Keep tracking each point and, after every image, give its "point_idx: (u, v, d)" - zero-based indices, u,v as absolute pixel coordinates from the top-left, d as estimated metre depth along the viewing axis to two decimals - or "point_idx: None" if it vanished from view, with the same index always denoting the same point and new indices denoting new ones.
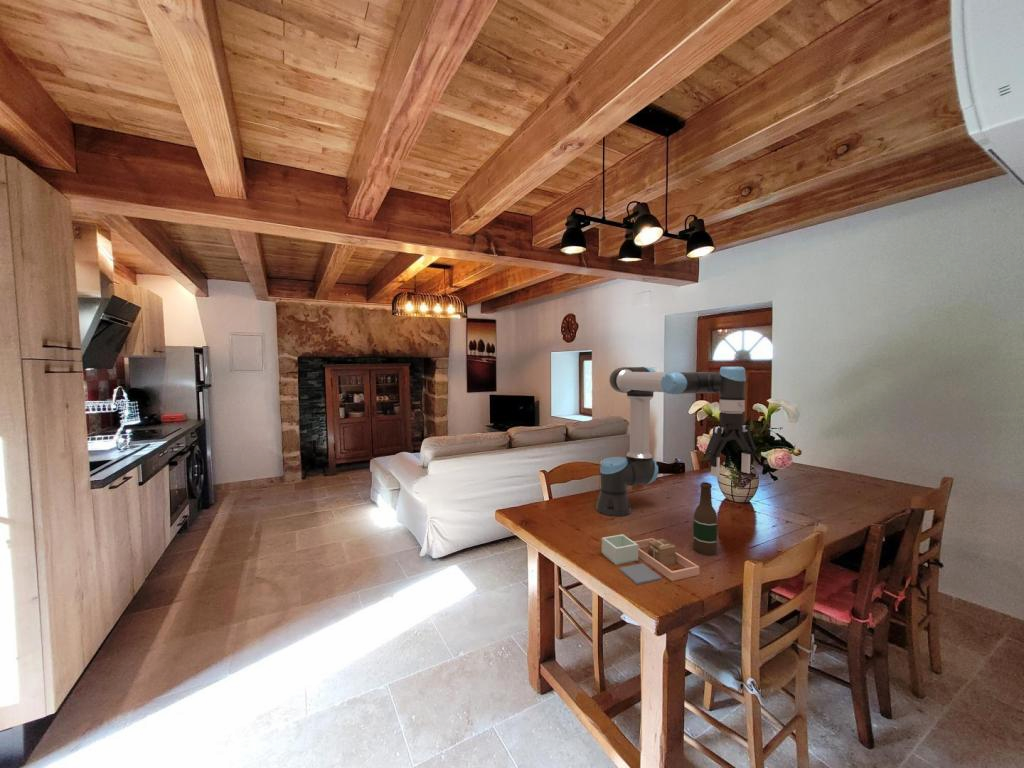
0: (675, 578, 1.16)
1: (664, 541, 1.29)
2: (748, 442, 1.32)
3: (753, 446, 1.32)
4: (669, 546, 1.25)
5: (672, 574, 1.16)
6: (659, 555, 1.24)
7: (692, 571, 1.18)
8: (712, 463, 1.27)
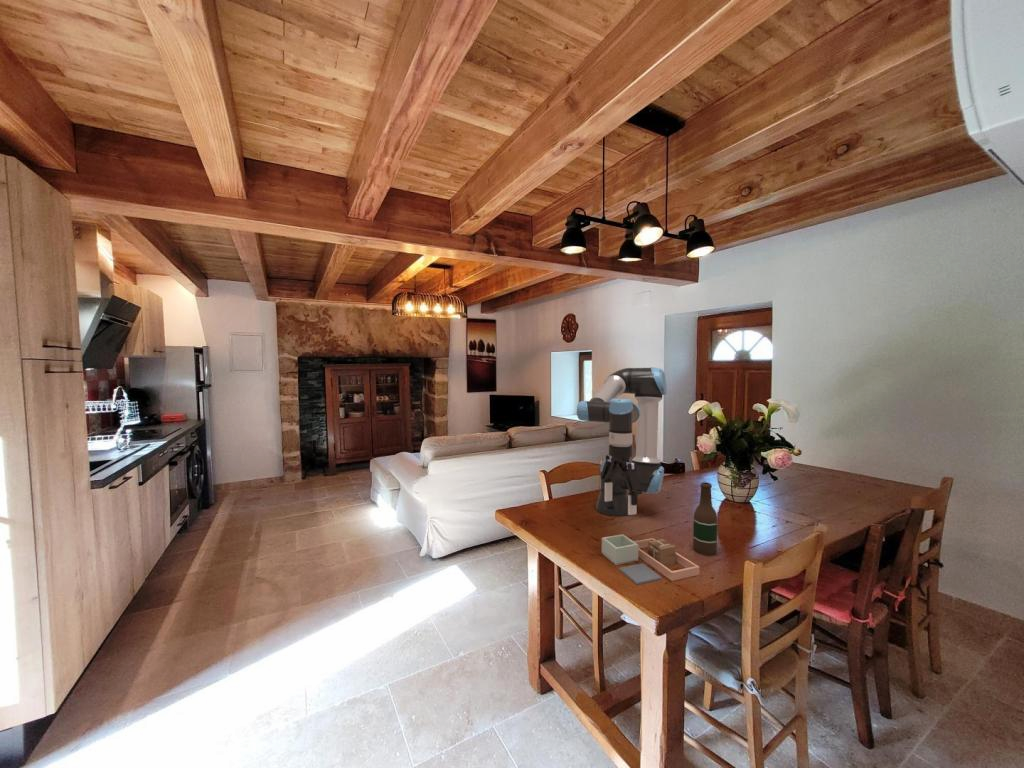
0: (675, 578, 1.16)
1: (664, 541, 1.29)
2: None
3: (633, 488, 1.21)
4: (669, 546, 1.25)
5: (672, 574, 1.16)
6: (659, 555, 1.24)
7: (692, 571, 1.18)
8: None
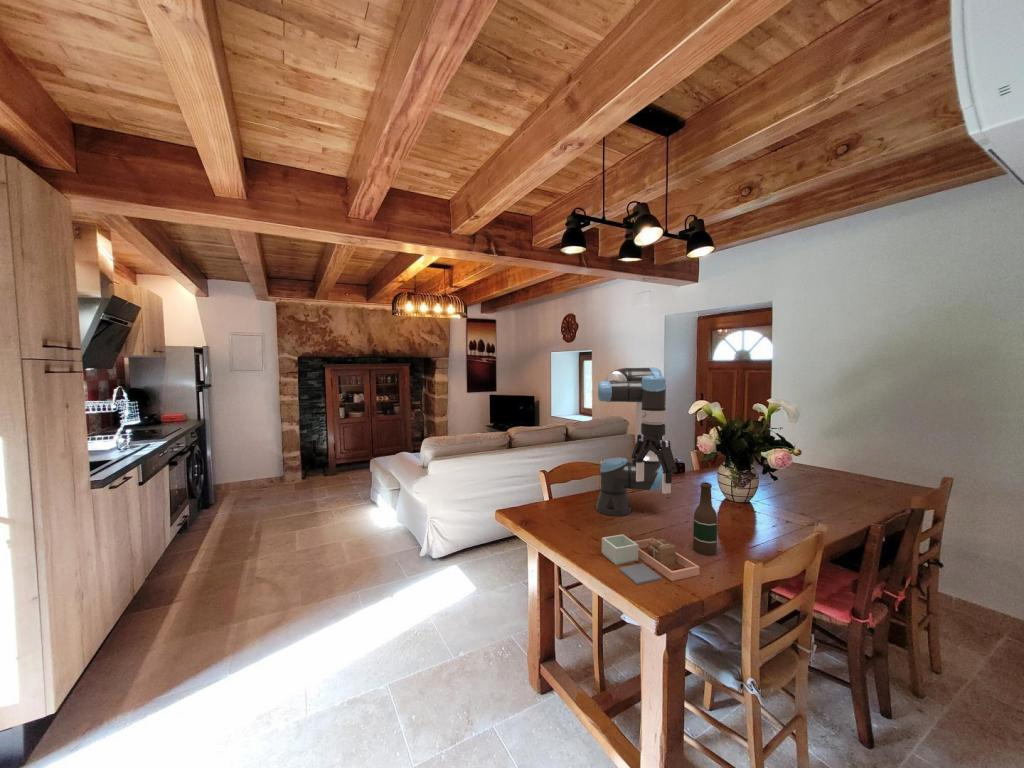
0: (675, 578, 1.16)
1: (664, 541, 1.29)
2: None
3: (667, 465, 1.18)
4: (669, 546, 1.25)
5: (672, 574, 1.16)
6: (659, 555, 1.24)
7: (692, 571, 1.18)
8: None
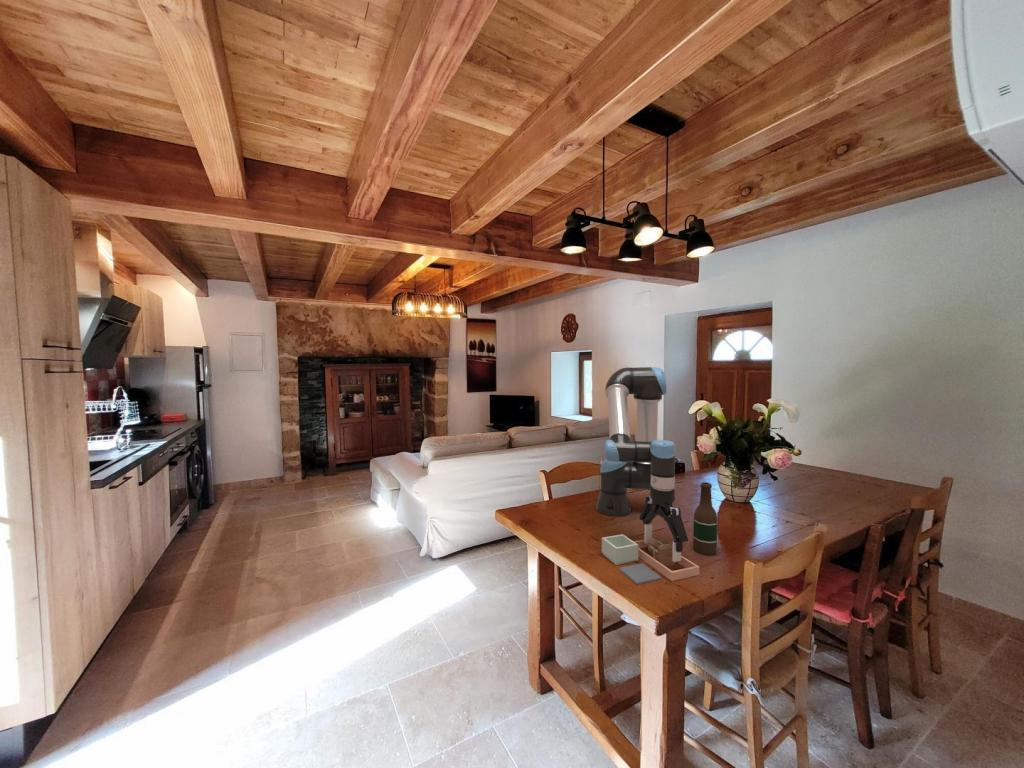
0: (675, 578, 1.16)
1: (664, 541, 1.29)
2: None
3: (678, 535, 1.18)
4: (669, 546, 1.25)
5: (672, 574, 1.16)
6: (659, 555, 1.24)
7: (692, 571, 1.18)
8: None
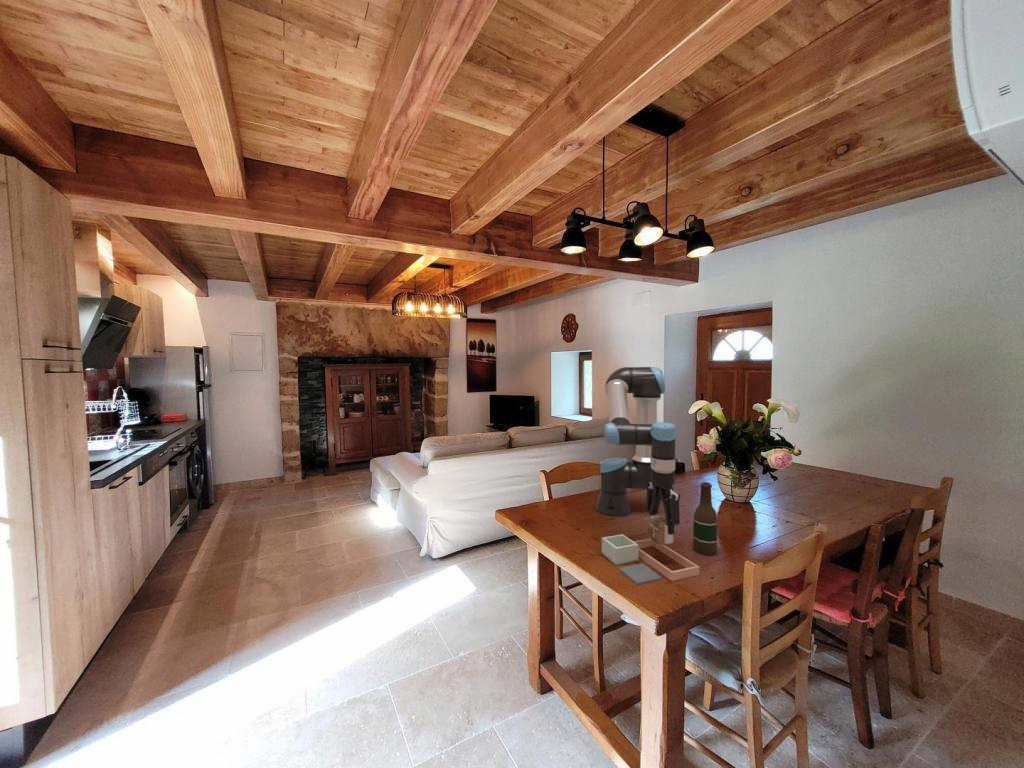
0: (675, 578, 1.16)
1: (664, 519, 1.29)
2: None
3: (671, 518, 1.21)
4: None
5: (672, 574, 1.16)
6: (658, 532, 1.24)
7: (692, 571, 1.18)
8: None
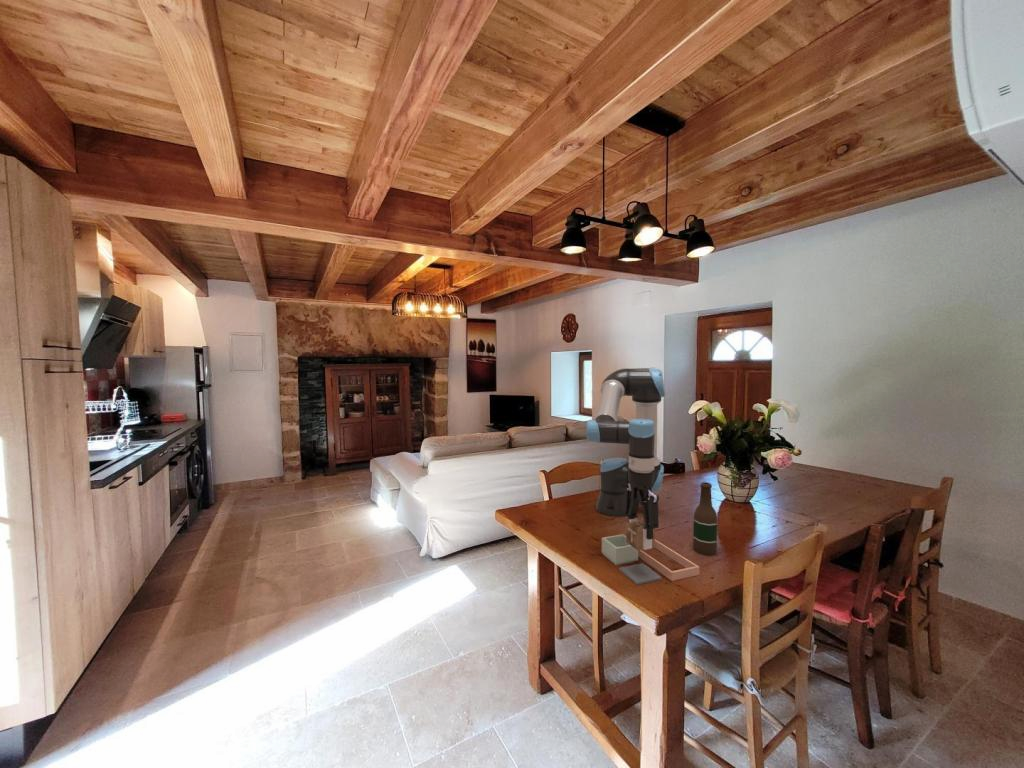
0: (675, 578, 1.16)
1: (643, 523, 1.20)
2: None
3: (650, 521, 1.13)
4: None
5: (672, 574, 1.16)
6: (636, 537, 1.16)
7: (692, 571, 1.18)
8: None
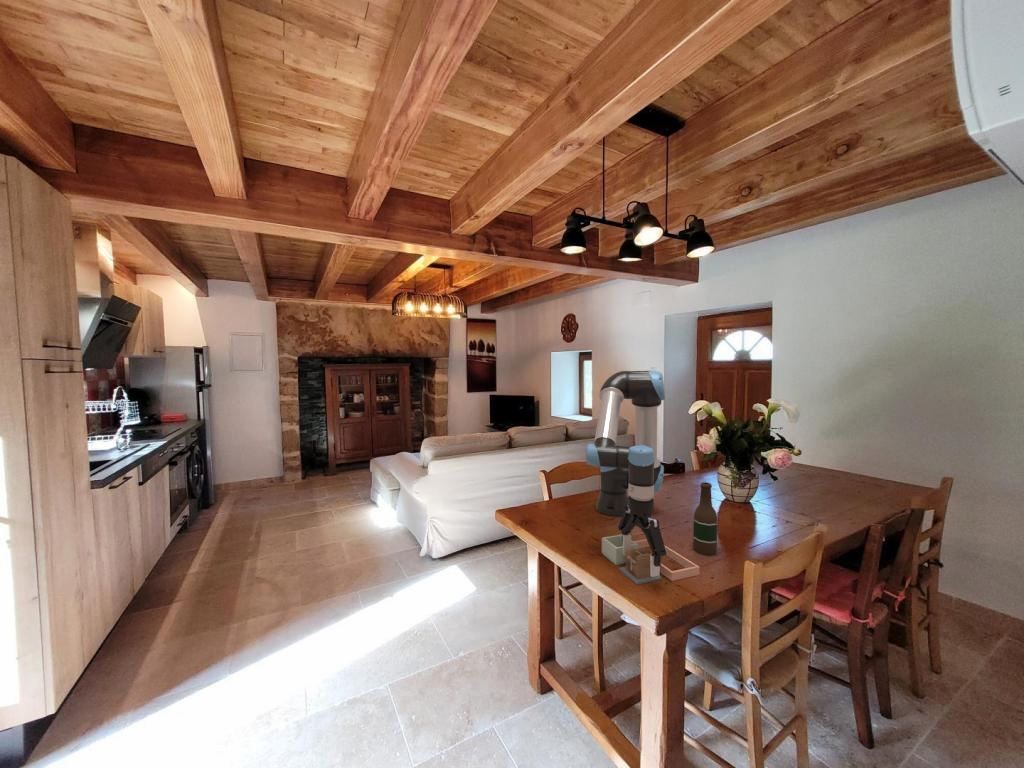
0: (675, 578, 1.16)
1: (643, 551, 1.21)
2: None
3: (656, 548, 1.10)
4: (647, 556, 1.17)
5: (672, 574, 1.16)
6: (636, 565, 1.16)
7: (692, 571, 1.18)
8: None
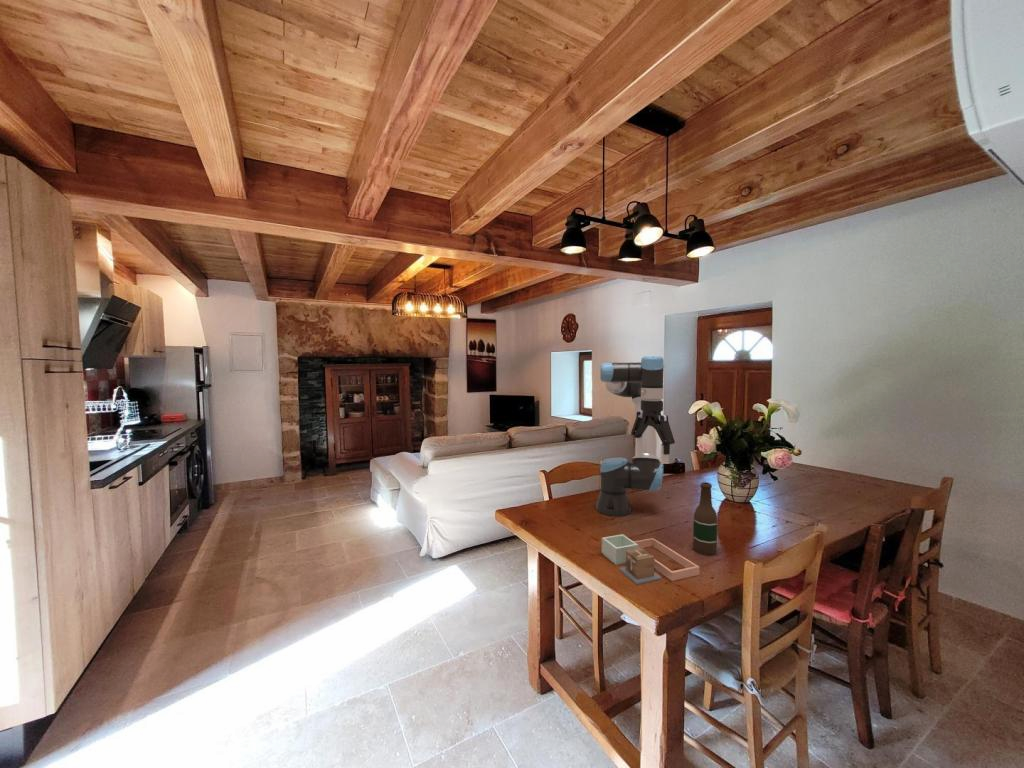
0: (675, 578, 1.16)
1: (643, 551, 1.21)
2: None
3: (666, 438, 1.28)
4: (647, 556, 1.17)
5: (672, 574, 1.16)
6: (636, 565, 1.16)
7: (692, 571, 1.18)
8: None
